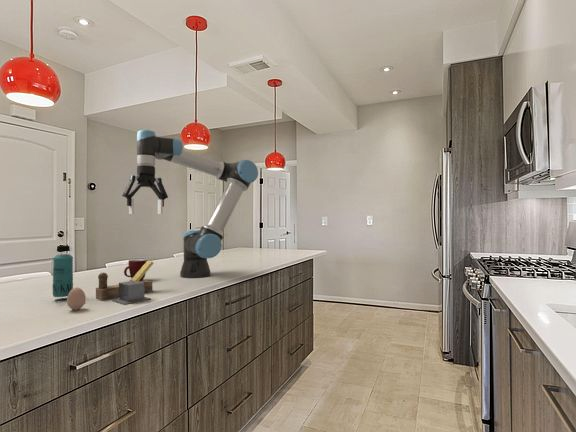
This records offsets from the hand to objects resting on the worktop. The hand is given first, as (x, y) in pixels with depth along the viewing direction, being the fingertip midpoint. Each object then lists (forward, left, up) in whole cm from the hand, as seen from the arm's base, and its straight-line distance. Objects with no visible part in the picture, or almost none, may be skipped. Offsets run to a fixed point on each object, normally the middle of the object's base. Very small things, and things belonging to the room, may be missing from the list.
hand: (146, 214), depth 158 cm
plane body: (+15, +11, -32) cm, 37 cm away
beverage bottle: (+33, 0, -32) cm, 46 cm away
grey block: (+18, +21, -31) cm, 42 cm away
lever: (+12, +11, -27) cm, 31 cm away
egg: (+36, +20, -32) cm, 52 cm away
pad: (+18, +22, -32) cm, 42 cm away
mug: (-2, -13, -32) cm, 35 cm away
